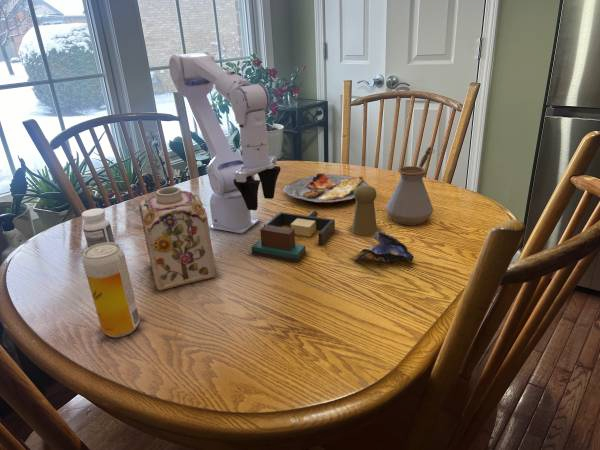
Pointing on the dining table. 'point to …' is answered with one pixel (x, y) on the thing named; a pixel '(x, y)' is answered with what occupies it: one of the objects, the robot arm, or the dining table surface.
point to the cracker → (303, 227)
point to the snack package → (385, 249)
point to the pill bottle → (96, 227)
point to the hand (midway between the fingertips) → (261, 203)
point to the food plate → (324, 188)
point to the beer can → (111, 288)
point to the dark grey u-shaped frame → (321, 223)
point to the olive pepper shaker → (364, 211)
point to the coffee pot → (411, 196)
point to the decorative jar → (177, 237)
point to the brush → (278, 244)
